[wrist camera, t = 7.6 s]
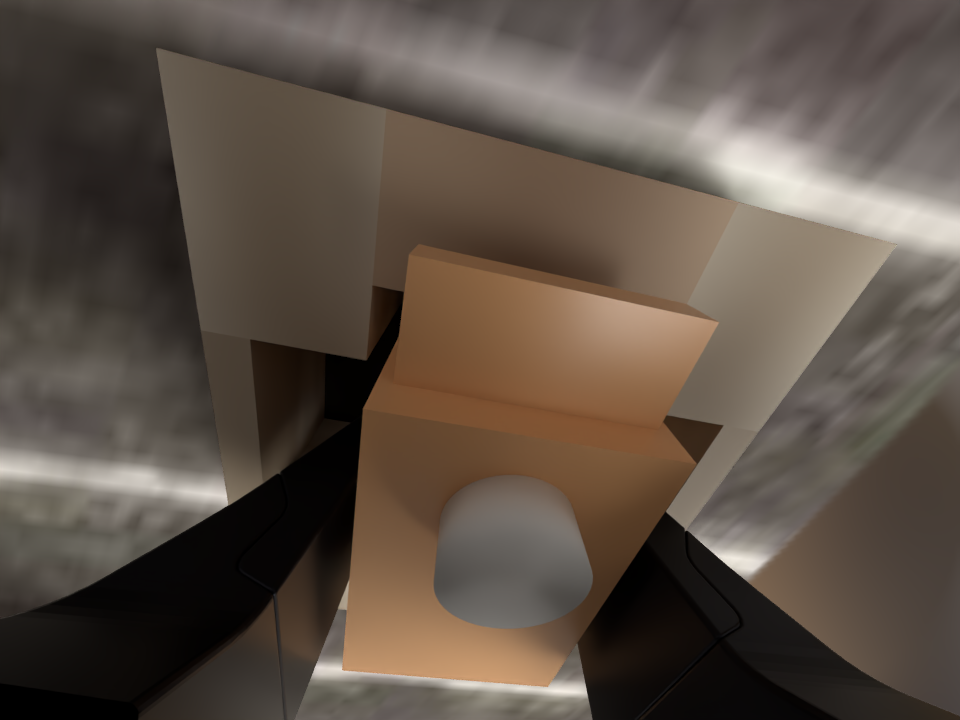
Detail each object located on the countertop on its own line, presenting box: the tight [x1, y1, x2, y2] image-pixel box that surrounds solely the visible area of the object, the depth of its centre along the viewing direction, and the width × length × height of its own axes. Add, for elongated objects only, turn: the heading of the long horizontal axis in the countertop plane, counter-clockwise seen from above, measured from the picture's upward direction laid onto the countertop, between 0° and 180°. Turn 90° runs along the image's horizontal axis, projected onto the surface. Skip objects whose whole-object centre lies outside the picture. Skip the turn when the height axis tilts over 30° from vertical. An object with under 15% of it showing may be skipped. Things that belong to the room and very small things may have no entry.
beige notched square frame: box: [156, 48, 897, 610], centre depth 9 cm, size 11×12×4 cm
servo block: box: [342, 244, 719, 687], centre depth 7 cm, size 4×9×6 cm, turn 168°
